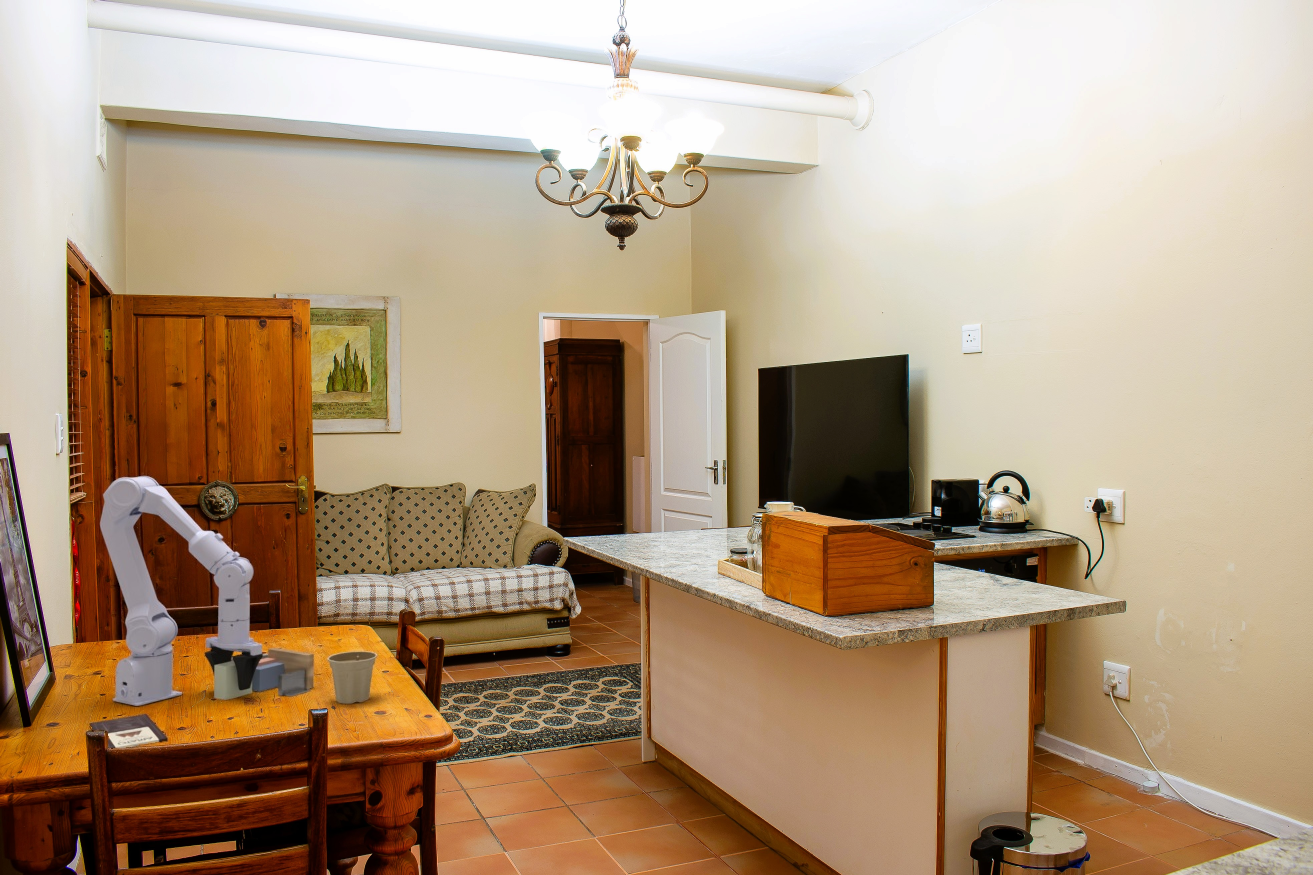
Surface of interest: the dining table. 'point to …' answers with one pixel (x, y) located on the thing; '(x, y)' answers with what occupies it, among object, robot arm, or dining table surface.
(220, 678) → the beige rectangular block
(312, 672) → the shelf wall
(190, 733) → the dining table surface
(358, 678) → the flower pot
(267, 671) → the shelved books
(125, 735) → the chocolate bar
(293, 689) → the bookend
